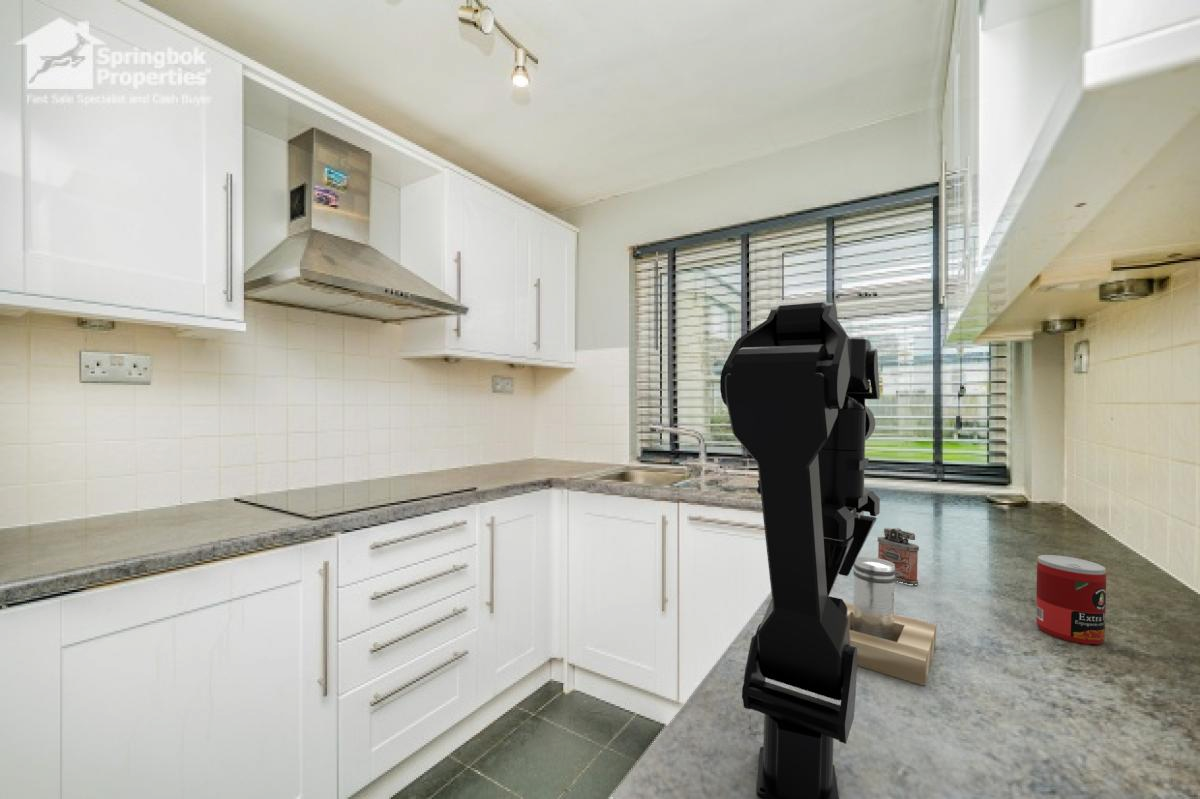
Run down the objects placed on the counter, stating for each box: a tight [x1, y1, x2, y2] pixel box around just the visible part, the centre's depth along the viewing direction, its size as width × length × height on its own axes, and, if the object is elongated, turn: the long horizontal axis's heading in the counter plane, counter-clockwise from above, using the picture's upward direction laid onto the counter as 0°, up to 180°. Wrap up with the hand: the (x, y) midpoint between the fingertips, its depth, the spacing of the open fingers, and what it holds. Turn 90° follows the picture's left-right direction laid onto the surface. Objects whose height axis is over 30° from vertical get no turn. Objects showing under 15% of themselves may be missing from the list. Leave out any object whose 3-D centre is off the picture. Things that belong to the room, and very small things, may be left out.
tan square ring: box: [844, 602, 938, 687], centre depth 72 cm, size 14×14×3 cm
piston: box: [852, 556, 896, 641], centre depth 72 cm, size 5×5×12 cm
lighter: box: [877, 527, 920, 585], centre depth 103 cm, size 8×3×10 cm, turn 25°
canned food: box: [1035, 554, 1107, 646], centre depth 79 cm, size 8×8×11 cm
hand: (833, 584), depth 59 cm, fingers open, 9 cm apart
